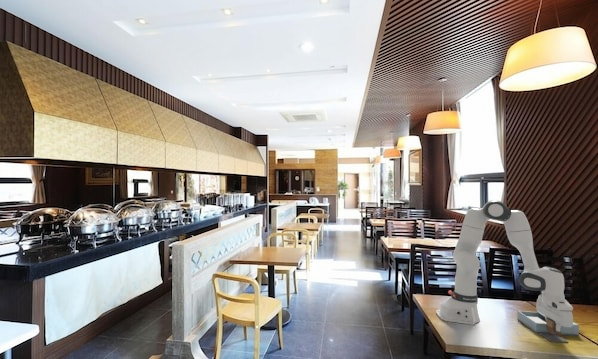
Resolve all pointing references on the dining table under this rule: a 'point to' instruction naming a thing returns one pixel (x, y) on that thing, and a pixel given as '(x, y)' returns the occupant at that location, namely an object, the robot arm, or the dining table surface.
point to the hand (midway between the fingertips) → (553, 328)
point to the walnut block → (551, 326)
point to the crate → (543, 323)
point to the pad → (553, 337)
